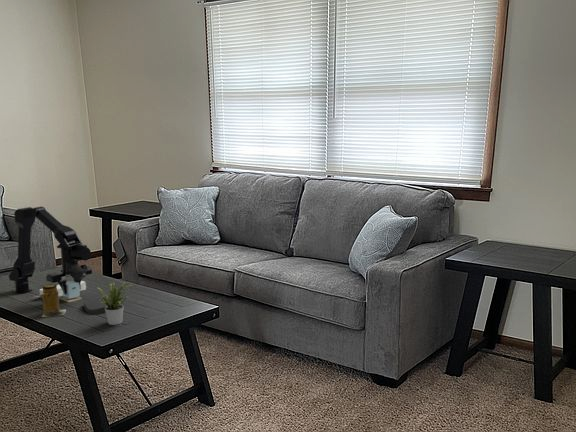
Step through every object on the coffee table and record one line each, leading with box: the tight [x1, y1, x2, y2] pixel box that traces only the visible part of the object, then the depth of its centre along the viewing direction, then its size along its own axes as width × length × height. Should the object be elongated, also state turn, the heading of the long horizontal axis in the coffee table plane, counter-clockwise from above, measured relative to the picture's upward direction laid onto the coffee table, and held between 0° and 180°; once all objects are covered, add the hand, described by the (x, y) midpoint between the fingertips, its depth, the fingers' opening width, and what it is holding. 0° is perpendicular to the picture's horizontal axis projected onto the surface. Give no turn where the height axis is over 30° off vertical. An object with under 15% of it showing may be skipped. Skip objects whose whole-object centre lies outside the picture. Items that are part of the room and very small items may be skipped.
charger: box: [62, 280, 81, 299], centre depth 240 cm, size 7×5×6 cm
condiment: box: [41, 283, 67, 318], centre depth 222 cm, size 7×8×12 cm
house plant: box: [96, 281, 132, 326], centre depth 210 cm, size 14×14×16 cm
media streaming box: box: [83, 295, 124, 315], centre depth 230 cm, size 15×15×3 cm
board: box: [61, 296, 83, 303], centre depth 240 cm, size 6×6×1 cm
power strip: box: [28, 280, 87, 301], centre depth 246 cm, size 8×25×4 cm, turn 141°
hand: (71, 292), depth 240 cm, fingers closed on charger, 5 cm apart
